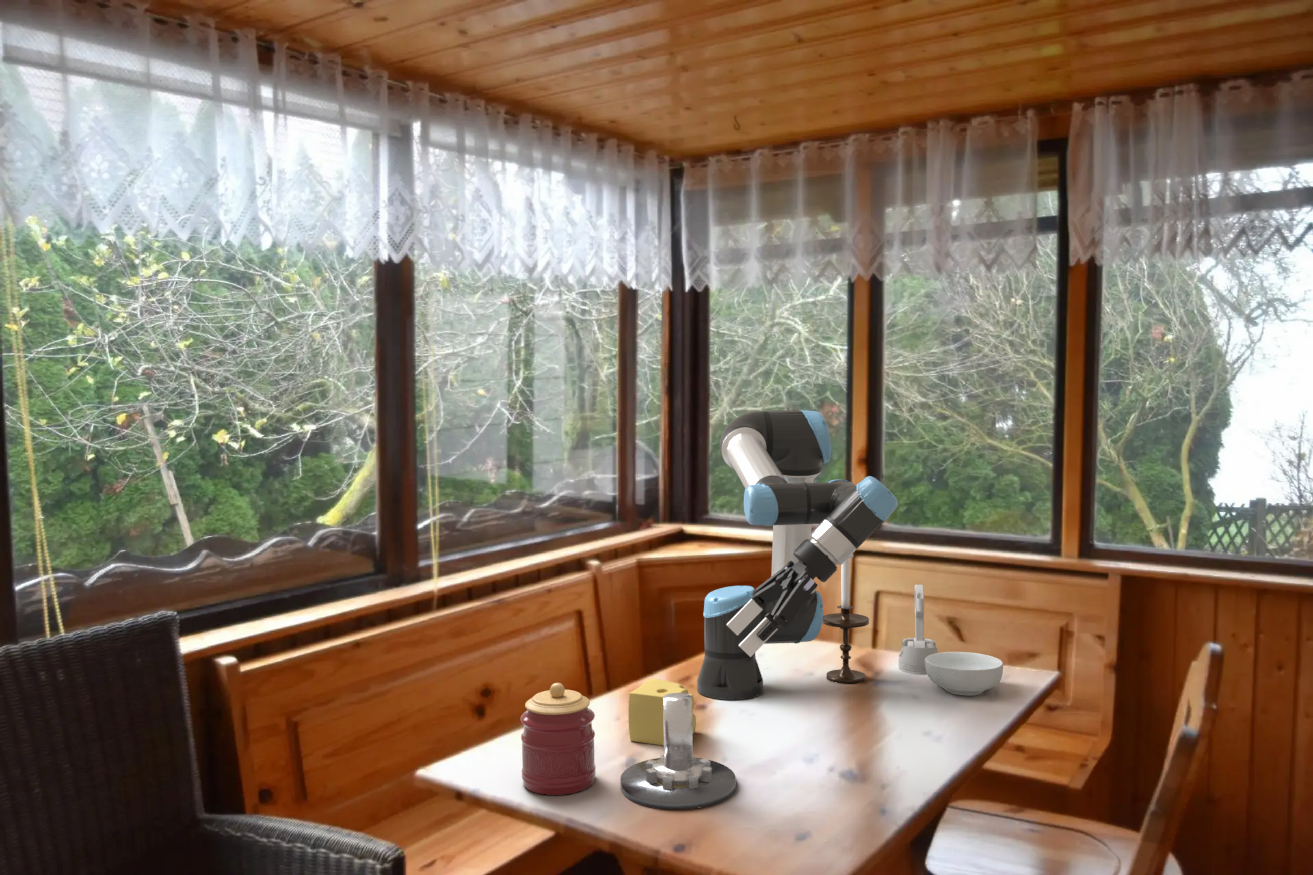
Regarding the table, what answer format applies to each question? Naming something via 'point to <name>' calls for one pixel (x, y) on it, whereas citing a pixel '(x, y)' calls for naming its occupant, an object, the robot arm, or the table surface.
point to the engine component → (916, 641)
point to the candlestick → (845, 632)
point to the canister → (558, 742)
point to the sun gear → (678, 748)
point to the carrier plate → (677, 789)
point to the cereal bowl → (964, 671)
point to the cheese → (651, 710)
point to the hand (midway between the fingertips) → (737, 640)
